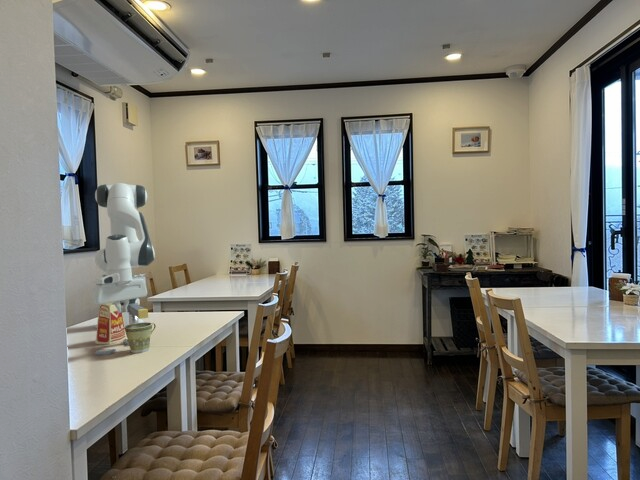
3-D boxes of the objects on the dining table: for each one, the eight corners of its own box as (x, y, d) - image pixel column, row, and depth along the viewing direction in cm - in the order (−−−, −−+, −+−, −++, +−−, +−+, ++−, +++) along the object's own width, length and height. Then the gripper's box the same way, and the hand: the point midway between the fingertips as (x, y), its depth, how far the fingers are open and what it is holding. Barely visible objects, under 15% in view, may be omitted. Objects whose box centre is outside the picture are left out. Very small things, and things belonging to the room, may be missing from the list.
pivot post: (123, 342, 192) (120, 312, 191) (142, 338, 196) (140, 309, 196) (127, 346, 185) (125, 315, 185) (147, 342, 190) (145, 312, 189)
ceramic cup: (138, 355, 171) (136, 329, 170) (120, 352, 175) (118, 327, 175) (165, 346, 182) (163, 321, 181) (148, 344, 187) (146, 319, 186)
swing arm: (126, 311, 191) (125, 304, 191) (137, 310, 193) (136, 302, 193) (138, 319, 174) (137, 310, 174) (149, 317, 176) (149, 309, 176)
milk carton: (95, 343, 192) (92, 296, 191) (112, 337, 201) (109, 292, 200) (112, 344, 189) (108, 296, 188) (128, 338, 198) (125, 293, 197)
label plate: (95, 354, 175) (95, 351, 175) (102, 351, 179) (102, 348, 179) (109, 354, 174) (109, 351, 174) (116, 351, 178) (115, 348, 178)
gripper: (140, 273, 186) (143, 306, 186) (89, 279, 170) (92, 316, 171) (149, 273, 182) (151, 308, 182) (96, 280, 166) (99, 318, 167)
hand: (122, 312), depth 176 cm, fingers closed
